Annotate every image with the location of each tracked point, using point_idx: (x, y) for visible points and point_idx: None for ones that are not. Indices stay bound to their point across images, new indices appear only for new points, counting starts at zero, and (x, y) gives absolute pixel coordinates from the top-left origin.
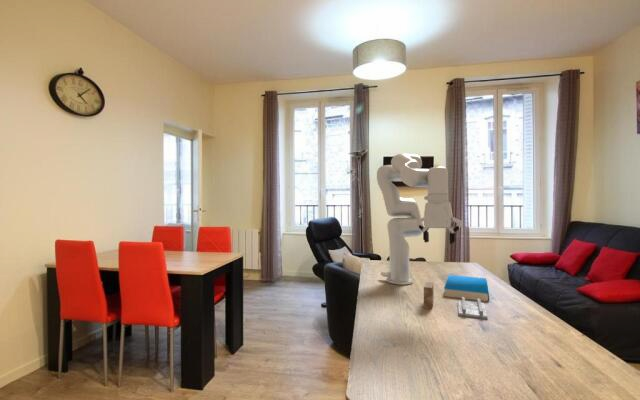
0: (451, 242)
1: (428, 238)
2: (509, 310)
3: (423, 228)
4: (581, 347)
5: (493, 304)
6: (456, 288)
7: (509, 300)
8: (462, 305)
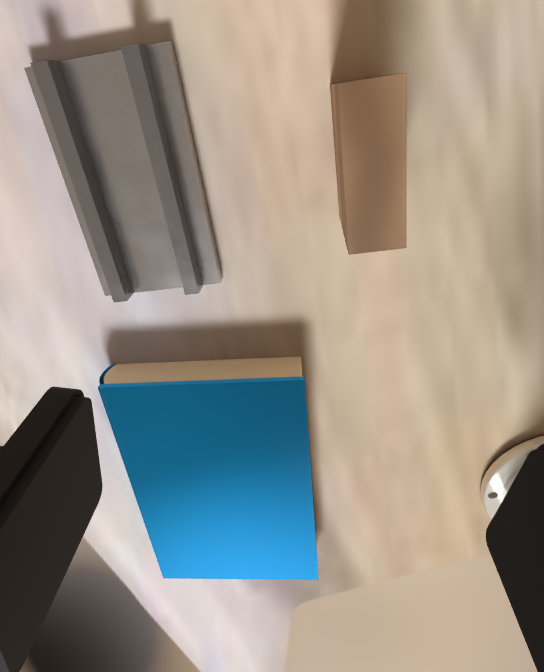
0: (44, 398)
1: (510, 580)
2: (2, 274)
3: None
4: None
5: (81, 327)
6: (244, 393)
7: None
8: (157, 123)
